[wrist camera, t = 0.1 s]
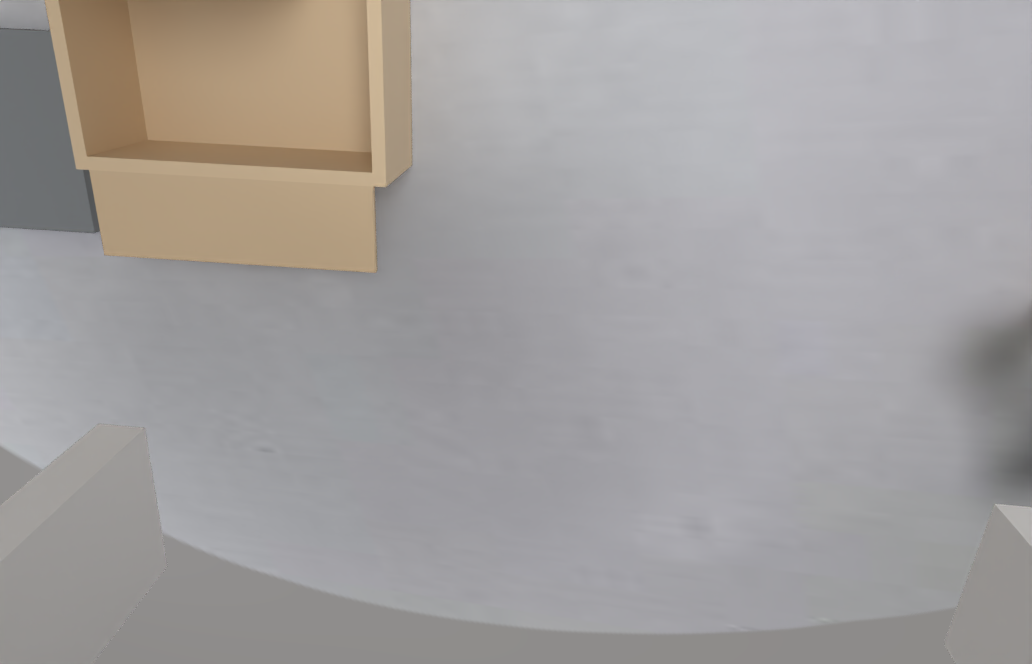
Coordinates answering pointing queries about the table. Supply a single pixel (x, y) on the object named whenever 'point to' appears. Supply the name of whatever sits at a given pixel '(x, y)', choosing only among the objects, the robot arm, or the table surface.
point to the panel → (38, 142)
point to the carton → (237, 124)
